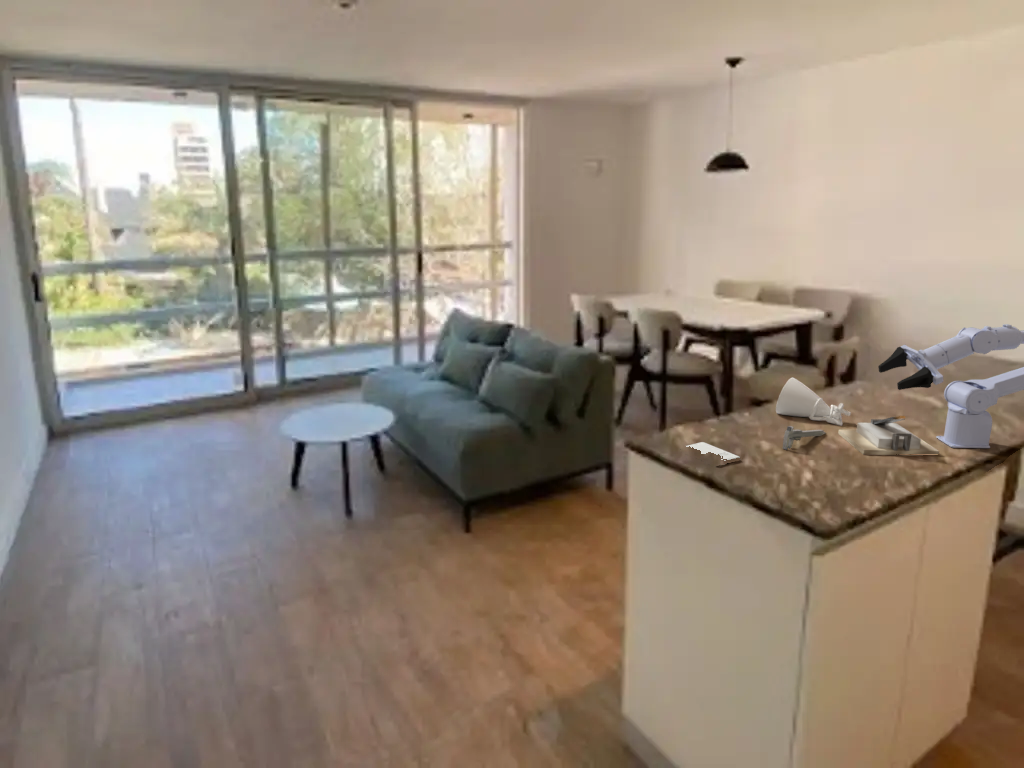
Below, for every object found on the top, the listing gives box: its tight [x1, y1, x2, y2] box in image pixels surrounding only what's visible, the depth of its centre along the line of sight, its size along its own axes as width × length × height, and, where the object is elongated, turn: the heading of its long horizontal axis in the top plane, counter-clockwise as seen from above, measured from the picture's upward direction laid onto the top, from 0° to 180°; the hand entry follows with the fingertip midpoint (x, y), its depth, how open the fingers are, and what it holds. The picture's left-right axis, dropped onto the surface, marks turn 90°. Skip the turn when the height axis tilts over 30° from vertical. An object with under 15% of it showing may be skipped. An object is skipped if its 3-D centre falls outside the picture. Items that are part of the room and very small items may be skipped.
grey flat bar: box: [873, 415, 906, 424], centre depth 177 cm, size 3×13×1 cm, turn 176°
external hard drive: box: [685, 441, 741, 461], centre depth 172 cm, size 2×8×12 cm
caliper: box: [782, 425, 826, 451], centre depth 181 cm, size 20×1×6 cm, turn 130°
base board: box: [837, 418, 940, 456], centre depth 178 cm, size 18×16×6 cm
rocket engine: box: [775, 377, 852, 427], centre depth 200 cm, size 12×12×18 cm
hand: (888, 377), depth 174 cm, fingers open, 7 cm apart
